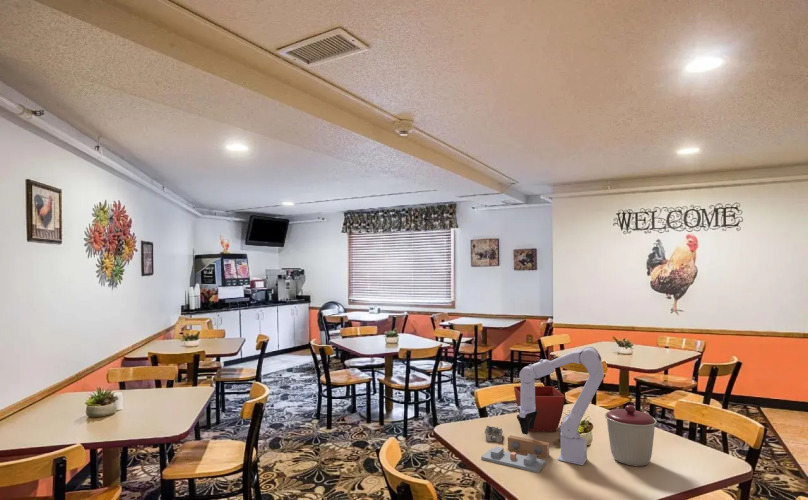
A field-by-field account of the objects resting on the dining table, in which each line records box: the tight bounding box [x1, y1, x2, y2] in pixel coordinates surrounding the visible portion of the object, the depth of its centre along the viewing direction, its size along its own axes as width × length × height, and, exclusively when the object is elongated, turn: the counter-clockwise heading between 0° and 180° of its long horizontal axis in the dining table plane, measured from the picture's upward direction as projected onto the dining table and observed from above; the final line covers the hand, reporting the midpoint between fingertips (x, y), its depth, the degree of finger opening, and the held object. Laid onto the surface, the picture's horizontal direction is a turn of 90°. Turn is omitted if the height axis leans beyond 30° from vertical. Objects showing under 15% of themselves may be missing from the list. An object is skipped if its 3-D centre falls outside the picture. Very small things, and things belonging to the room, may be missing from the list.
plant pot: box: [513, 385, 566, 433], centre depth 218 cm, size 19×19×17 cm
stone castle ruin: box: [483, 425, 503, 443], centre depth 205 cm, size 11×8×4 cm
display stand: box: [480, 446, 547, 474], centre depth 179 cm, size 22×10×3 cm, turn 58°
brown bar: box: [507, 434, 550, 459], centre depth 188 cm, size 16×3×5 cm, turn 58°
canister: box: [604, 404, 658, 467], centre depth 180 cm, size 18×18×21 cm
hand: (527, 431), depth 188 cm, fingers open, 7 cm apart
